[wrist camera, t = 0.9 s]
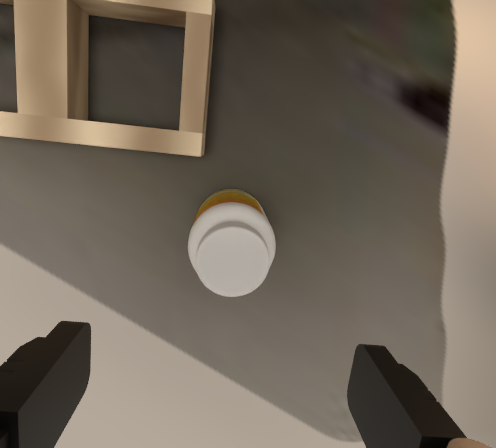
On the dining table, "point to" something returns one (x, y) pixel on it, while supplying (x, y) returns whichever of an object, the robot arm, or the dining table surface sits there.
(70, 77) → the bottle rack
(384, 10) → the dining table surface
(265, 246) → the supplement bottle
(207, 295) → the dining table surface
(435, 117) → the dining table surface
